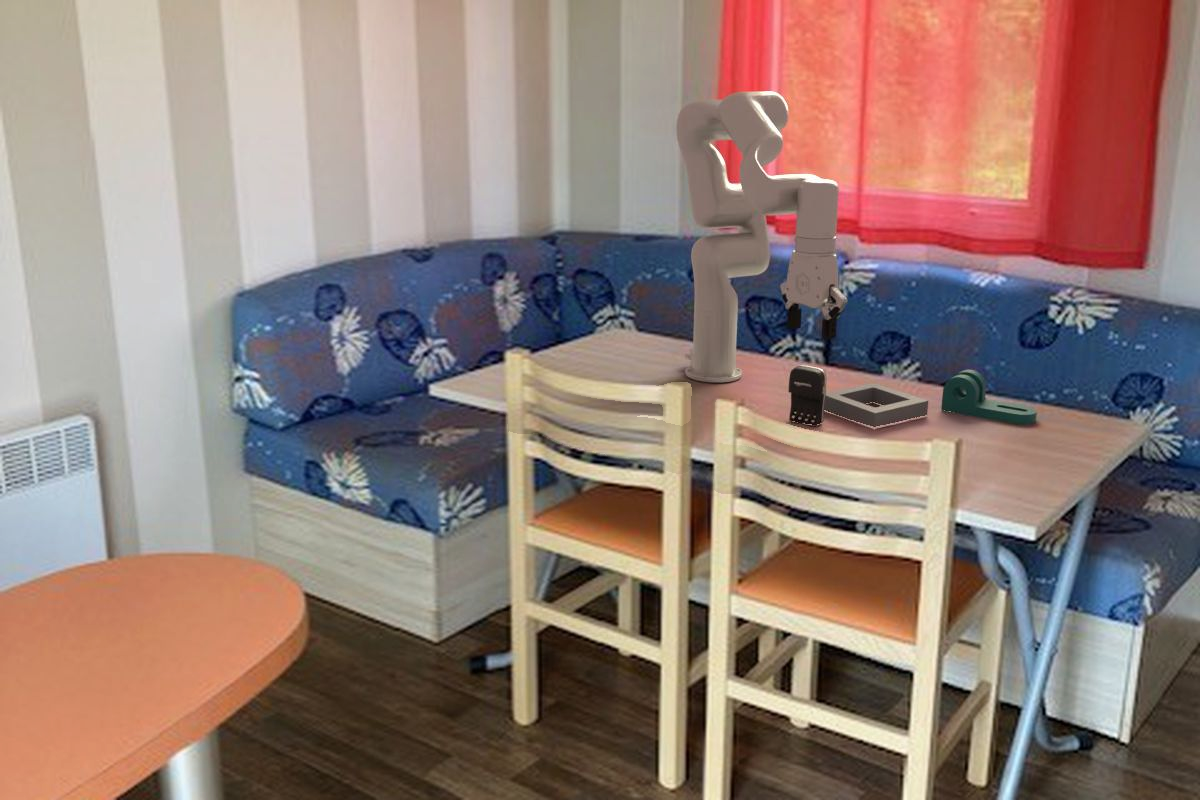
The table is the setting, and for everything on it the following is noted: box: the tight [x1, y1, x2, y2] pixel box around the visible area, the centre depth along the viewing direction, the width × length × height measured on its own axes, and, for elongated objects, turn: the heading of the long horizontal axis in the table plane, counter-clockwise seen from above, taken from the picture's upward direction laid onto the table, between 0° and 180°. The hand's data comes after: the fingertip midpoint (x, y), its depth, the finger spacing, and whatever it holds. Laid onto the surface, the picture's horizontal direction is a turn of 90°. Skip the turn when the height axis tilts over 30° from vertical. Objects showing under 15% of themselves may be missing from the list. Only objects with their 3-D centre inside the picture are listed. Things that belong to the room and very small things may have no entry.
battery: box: [787, 364, 827, 425], centre depth 241 cm, size 7×4×11 cm, turn 55°
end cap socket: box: [824, 382, 929, 427], centre depth 248 cm, size 15×15×4 cm
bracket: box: [940, 369, 1038, 426], centre depth 248 cm, size 18×7×8 cm, turn 57°
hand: (810, 333), depth 237 cm, fingers open, 9 cm apart
